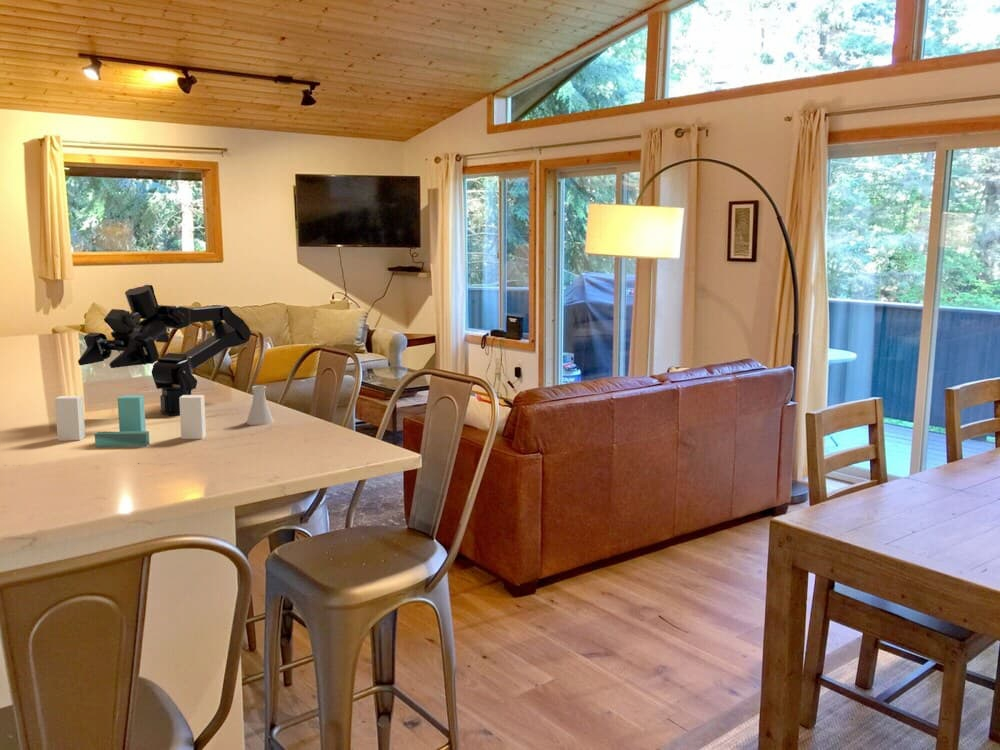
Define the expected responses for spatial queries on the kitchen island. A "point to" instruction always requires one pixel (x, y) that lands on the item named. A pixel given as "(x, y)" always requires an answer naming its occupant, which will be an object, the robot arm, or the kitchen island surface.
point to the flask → (259, 408)
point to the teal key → (131, 413)
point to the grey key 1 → (70, 418)
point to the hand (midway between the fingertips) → (94, 364)
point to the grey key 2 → (192, 416)
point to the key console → (122, 439)
